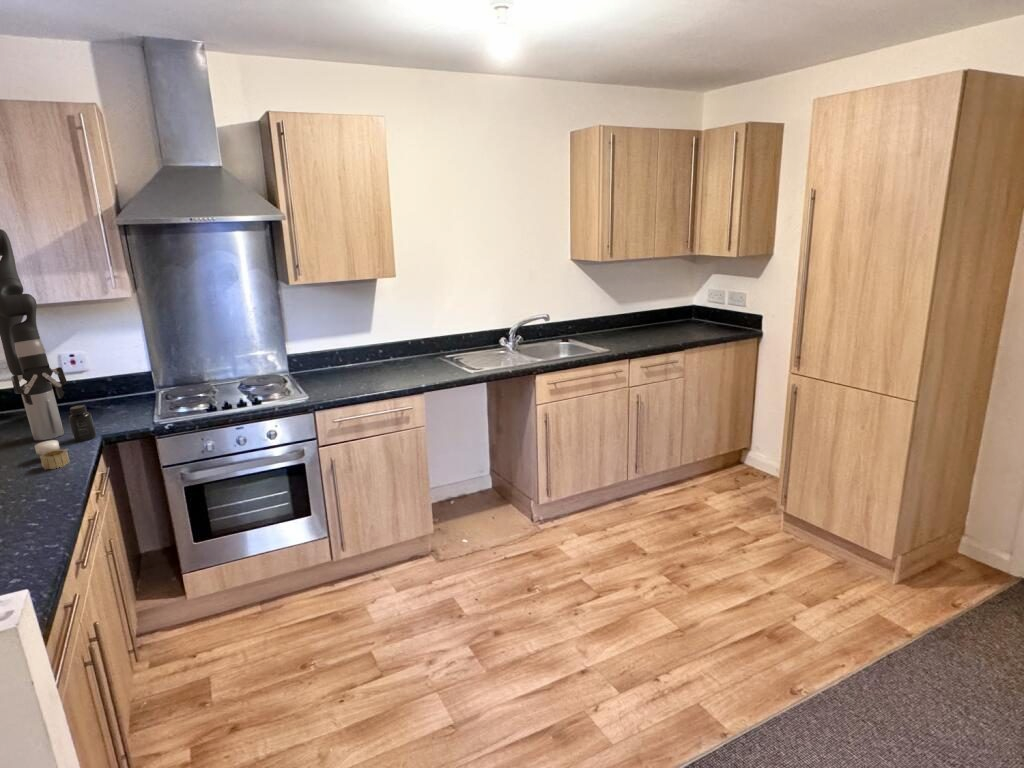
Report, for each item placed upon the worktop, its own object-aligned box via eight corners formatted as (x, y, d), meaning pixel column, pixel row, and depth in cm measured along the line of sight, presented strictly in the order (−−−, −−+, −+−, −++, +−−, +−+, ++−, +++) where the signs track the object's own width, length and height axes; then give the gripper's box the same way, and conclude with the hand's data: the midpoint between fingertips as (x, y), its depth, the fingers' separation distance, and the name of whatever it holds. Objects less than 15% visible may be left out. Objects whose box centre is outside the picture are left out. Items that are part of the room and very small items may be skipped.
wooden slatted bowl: (40, 466, 199) (37, 454, 198) (65, 459, 205) (62, 447, 203) (47, 471, 195) (44, 459, 194) (72, 463, 200) (69, 452, 199)
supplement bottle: (100, 434, 227) (93, 403, 224) (89, 441, 221) (81, 409, 217) (81, 435, 227) (74, 404, 224) (69, 442, 220) (61, 410, 217)
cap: (35, 458, 206) (31, 444, 205) (58, 452, 211) (54, 438, 210) (41, 462, 202) (37, 448, 201) (64, 456, 207) (60, 442, 206)
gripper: (52, 351, 213) (66, 396, 216) (2, 359, 202) (17, 407, 205) (60, 349, 208) (73, 396, 211) (8, 357, 197) (23, 406, 200)
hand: (45, 401), depth 208 cm, fingers open, 8 cm apart
